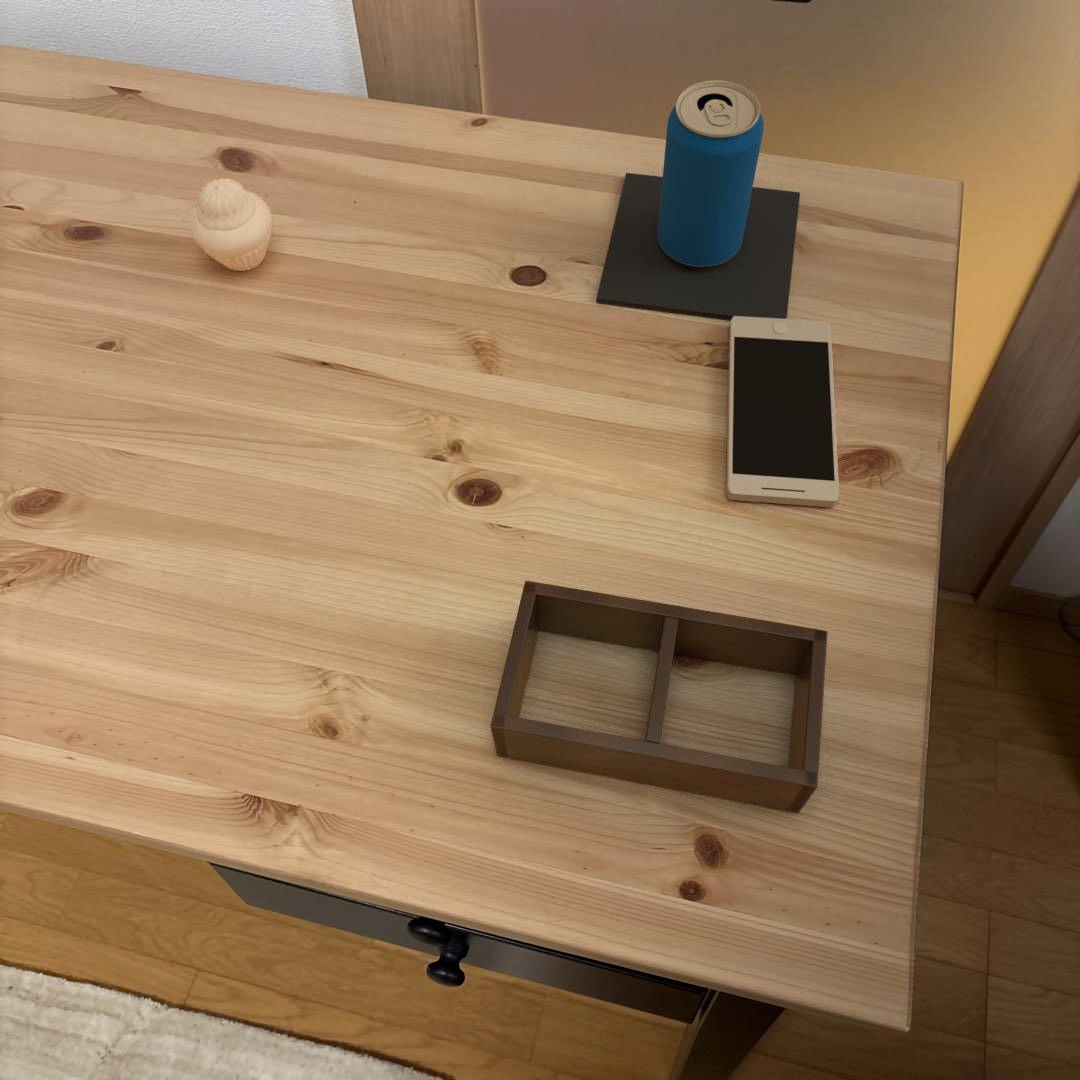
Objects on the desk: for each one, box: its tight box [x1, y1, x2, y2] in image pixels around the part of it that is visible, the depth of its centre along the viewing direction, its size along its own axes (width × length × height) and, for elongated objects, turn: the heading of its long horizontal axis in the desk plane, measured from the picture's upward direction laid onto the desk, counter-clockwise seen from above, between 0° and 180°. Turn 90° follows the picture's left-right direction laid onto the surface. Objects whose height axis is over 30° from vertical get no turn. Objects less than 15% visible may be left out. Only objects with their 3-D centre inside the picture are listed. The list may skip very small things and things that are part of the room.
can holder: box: [490, 580, 829, 814], centre depth 57 cm, size 17×9×5 cm, turn 78°
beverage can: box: [657, 79, 765, 267], centre depth 72 cm, size 6×6×12 cm
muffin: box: [189, 177, 273, 272], centre depth 76 cm, size 6×6×7 cm
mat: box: [595, 172, 801, 321], centre depth 77 cm, size 14×14×1 cm
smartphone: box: [726, 316, 840, 508], centre depth 69 cm, size 7×15×1 cm, turn 174°
